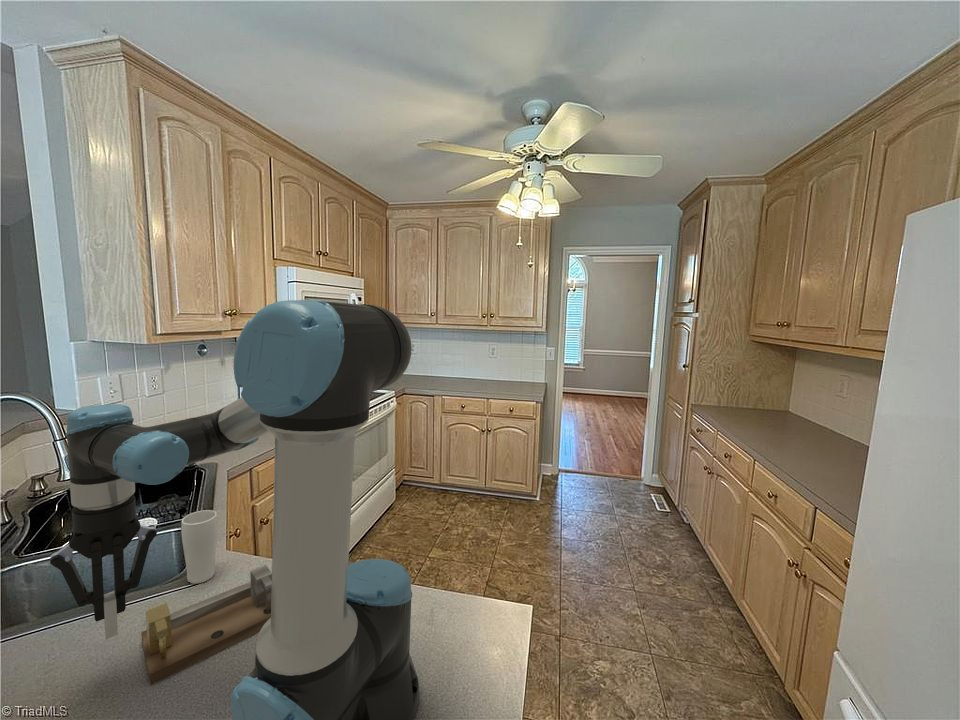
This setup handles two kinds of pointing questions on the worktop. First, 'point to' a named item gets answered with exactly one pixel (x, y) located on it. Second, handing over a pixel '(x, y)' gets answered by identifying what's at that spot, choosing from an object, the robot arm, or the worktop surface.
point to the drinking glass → (199, 545)
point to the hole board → (213, 625)
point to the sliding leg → (158, 630)
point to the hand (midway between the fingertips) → (111, 632)
